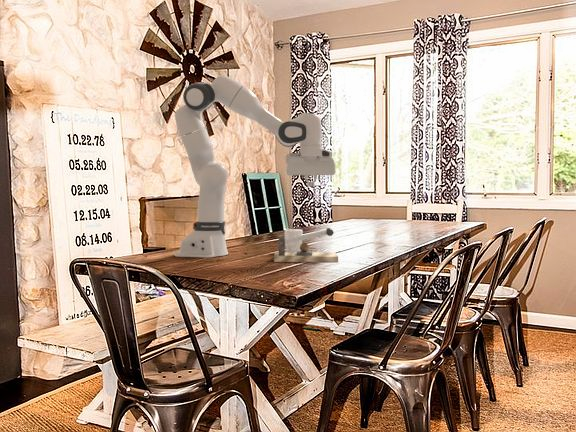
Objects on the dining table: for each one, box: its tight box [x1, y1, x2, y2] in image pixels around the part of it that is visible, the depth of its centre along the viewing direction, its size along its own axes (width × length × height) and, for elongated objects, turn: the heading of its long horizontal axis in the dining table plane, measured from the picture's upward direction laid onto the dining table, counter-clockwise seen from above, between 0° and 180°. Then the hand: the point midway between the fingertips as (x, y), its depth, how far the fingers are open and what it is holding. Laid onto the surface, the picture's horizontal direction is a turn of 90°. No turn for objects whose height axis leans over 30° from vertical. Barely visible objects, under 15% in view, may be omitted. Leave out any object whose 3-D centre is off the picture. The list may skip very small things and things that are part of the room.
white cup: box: [284, 228, 304, 252], centre depth 240 cm, size 8×8×10 cm
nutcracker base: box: [273, 235, 339, 263], centre depth 221 cm, size 25×12×9 cm, turn 90°
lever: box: [285, 227, 334, 244], centre depth 220 cm, size 22×6×3 cm, turn 91°
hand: (310, 186), depth 229 cm, fingers closed
